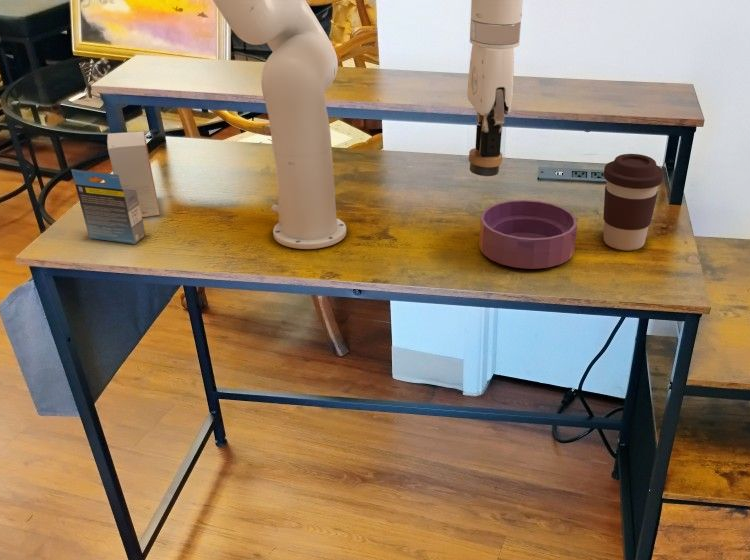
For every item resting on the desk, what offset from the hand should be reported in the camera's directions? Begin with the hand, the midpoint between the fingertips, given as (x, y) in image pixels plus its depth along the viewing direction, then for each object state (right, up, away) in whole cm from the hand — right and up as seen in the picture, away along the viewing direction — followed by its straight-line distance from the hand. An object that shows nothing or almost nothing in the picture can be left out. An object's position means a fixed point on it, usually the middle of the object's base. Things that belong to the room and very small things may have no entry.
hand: (487, 151), depth 135 cm
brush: (-1, -3, +2) cm, 3 cm away
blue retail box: (-63, -13, +8) cm, 65 cm away
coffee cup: (+24, -13, +12) cm, 30 cm away
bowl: (+7, -15, +8) cm, 18 cm away
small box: (-63, -6, +18) cm, 66 cm away
